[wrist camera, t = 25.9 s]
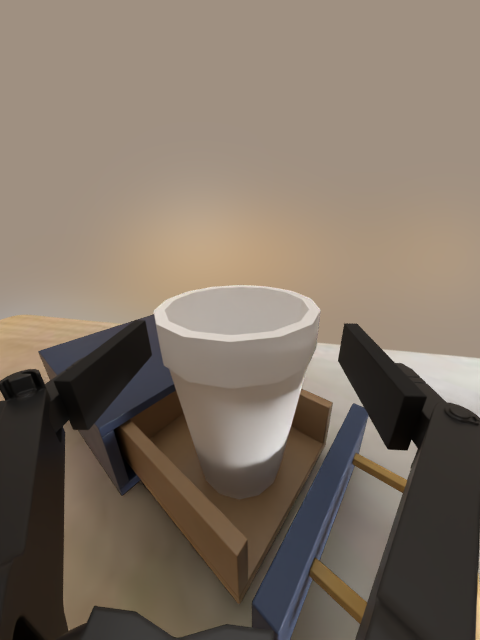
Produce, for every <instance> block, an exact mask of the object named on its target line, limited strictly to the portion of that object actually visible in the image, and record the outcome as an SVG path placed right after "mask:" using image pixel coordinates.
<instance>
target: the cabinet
mask: <svg viewBox="0 0 480 640" xmlns="http://www.w3.org/2000/svg"><path fill="white" fill-rule="evenodd" d="M138 320H145V321H146V326H147V331H148V336H149V341H150V346H151V352H152V356H151V357H150V358H149V360H148V361H147V362H146V363H145V364H144V365H143V367H142V368H141V369H140V370H139V371H138V373H137V374H136V375H135V376H134V377H133V378H132V380H131V381H130V382H129V383H128V384H127V386H126V387H125V388H124V389H123V390H122V391H121V393H120V394H119V395H118V396H117V397H116V399H115V400H114V401H113V402H112V403H111V404H110V406H109V407H108V408H107V409H106V410H105V412H104V413H103V414H102V415H101V416H100V417H99V419H98V420H97V421H96V422H95V423H94V424H93V426H92V427H91V428H90V429H89V430H78V431H79V433H80V434H81V436H82V437H83V439H84V440H85V442H86V443H87V445H88V446H89V448H90V449H91V450H92V452H93V453H94V455H95V456H96V458H97V459H98V461H99V462H100V464H101V465H102V467H103V468H104V470H105V471H106V473H107V474H108V476H109V477H110V479H111V480H112V482H113V483H114V485H115V486H116V488H117V489H118V491H119V492H120V494H121V495H123V494H125V493H126V492H127V491H128V490H129V489H130V488H132V487H133V486H134V485H135V484H136V483H138V482H139V481H140V478H139V477H138V476H137V475H136V473H135V472H134V471H133V469H132V468H131V467H130V466H129V464H128V463H127V462H126V461H125V459H124V458H123V456H122V453H121V450H120V446H119V443H118V440H117V437H116V434H115V430H114V429H115V428H117V427H118V426H120V425H122V424H123V423H125V422H126V421H128V420H130V419H131V418H133V417H134V416H136V415H138V414H139V413H141V412H142V411H144V410H145V409H147V408H149V407H150V406H152V405H153V404H155V403H157V402H158V401H160V400H161V399H163V398H165V397H166V396H168V395H169V394H171V393H173V392H174V391H176V388H175V385H174V382H173V379H172V376H171V373H170V370H169V368H167V367H165V366H164V364H163V359H162V355H161V350H160V345H159V339H158V334H157V328H156V322H155V316H154V314H153V315H150V316H147V317H144V318H141V319H138ZM132 322H133V321H131V322H129V323H125V324H122V325H119V326H116V327H113V328H110V329H106V330H103V331H100V332H97V333H94V334H91V335H88V336H84V337H81V338H78V339H75V340H72V341H69V342H66V343H63V344H59V345H56V346H53V347H50V348H47V349H44V350H41V351H38V352H39V355H40V357H41V359H42V362H43V364H44V367H45V369H46V372H47V374H48V376H49V379H50V380H52V379H53V378H54V377H56V376H57V375H58V374H60V373H61V372H62V371H65V369H67V368H68V367H69V366H71V365H72V364H73V363H75V362H76V361H77V360H79V359H81V358H83V357H85V356H87V355H89V354H90V353H91V352H93V351H94V350H95V349H97V348H98V347H99V346H101V345H102V344H103V343H105V342H106V341H107V340H109V339H110V338H111V337H113V336H114V335H116V334H117V333H118V332H120V331H121V330H122V329H124V328H125V327H126V326H128V325H129V324H130V323H132Z"/></svg>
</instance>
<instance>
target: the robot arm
mask: <svg viewBox="0 0 480 640" xmlns="http://www.w3.org/2000/svg"><path fill="white" fill-rule="evenodd" d="M151 356H152V352H151V346H150V341H149V336H148V331H147V326H146V321H145V320H135V321H133V322H132V323H130V324H129V325H128V326H126V327H125V328H124V329H122V330H121V331H120V332H118V333H117V334H116V335H114V336H113V337H111V338H110V339H109V340H107V341H106V342H105V343H103V344H102V345H101V346H99V347H98V348H97V349H95V350H94V351H93V352H91V353H90V354H89V355H87V356H85V357H83V358H81V359H79V360H77V361H76V362H75V363H73V364H72V365H71V366H69V367H68V368H67V369H65V371H62V372H61V373H60V374H58V375H57V376H56V377H54V378H53V379H52V380H50V381H49V382H47V383H46V384H44V381H43V379H42V377H41V374H40V372H39V370H36V369H29V370H24V371H20V372H17V373H14V374H12V375H10V376H7V377H6V378H4V379H3V380H1V381H0V391H1V393H2V394H3V396H4V398H5V401H0V640H273V630H265V629H258V628H251V627H244V626H236V625H229V624H226V625H222V626H219V627H215V628H212V629H208V630H205V631H201V632H198V633H194V634H191V635H187V636H184V637H180V638H176V637H173V636H171V635H170V634H168V633H167V632H165V631H164V630H162V629H161V628H159V627H158V626H156V625H155V624H153V623H152V622H150V621H149V620H147V619H146V618H144V617H143V616H141V615H140V614H138V613H137V612H135V611H127V610H120V609H113V608H105V607H98V606H94V608H93V610H92V612H91V615H90V617H89V619H88V621H87V623H85V624H83V625H80V626H78V627H76V628H74V629H72V630H70V631H68V627H67V622H66V618H65V614H64V608H63V558H64V479H65V431H64V428H63V425H64V424H65V423H66V422H67V421H68V420H69V421H70V423H71V425H72V428H73V429H74V430H89V429H90V428H91V427H92V426H93V424H94V423H95V422H96V421H97V420H98V419H99V417H100V416H101V415H102V414H103V413H104V412H105V410H106V409H107V408H108V407H109V406H110V404H111V403H112V402H113V401H114V400H115V399H116V397H117V396H118V395H119V394H120V393H121V391H122V390H123V389H124V388H125V387H126V386H127V384H128V383H129V382H130V381H131V380H132V378H133V377H134V376H135V375H136V374H137V373H138V371H139V370H140V369H141V368H142V367H143V365H144V364H145V363H146V362H147V361H148V360H149V358H150V357H151ZM338 362H339V363H340V365H341V367H342V369H343V370H344V372H345V374H346V376H347V378H348V379H349V381H350V383H351V385H352V387H353V388H354V390H355V392H356V394H357V395H358V397H359V399H360V401H361V403H362V404H363V406H364V408H365V410H366V412H367V413H368V415H369V417H370V419H371V420H372V422H373V424H374V426H375V428H376V429H377V431H378V433H379V435H380V437H381V438H382V440H383V442H384V444H385V445H386V447H387V449H391V450H407V451H408V448H409V445H410V442H411V440H412V441H413V442H414V444H415V445H416V446H417V448H418V450H417V452H416V455H415V458H414V460H413V463H412V465H411V470H410V473H409V477H408V480H407V483H406V486H405V489H404V492H403V495H402V498H401V501H400V504H399V507H398V510H397V513H396V516H395V519H394V522H393V526H392V529H391V532H390V535H389V538H388V541H387V544H386V547H385V550H384V553H383V556H382V559H381V562H380V565H379V568H378V572H377V575H376V578H375V581H374V584H373V587H372V590H371V593H370V596H369V599H368V602H367V605H366V608H365V611H364V614H363V617H362V621H361V624H360V627H359V630H358V633H357V636H356V639H355V640H475V639H476V614H477V589H478V564H479V539H480V418H479V417H478V416H477V415H476V414H474V413H473V412H471V411H470V410H468V409H466V408H464V407H462V406H459V405H456V404H452V403H447V402H446V401H445V400H444V399H442V398H441V397H440V396H439V395H438V394H437V393H436V392H435V391H434V390H433V389H432V388H431V387H430V386H429V385H428V384H426V382H425V381H424V380H423V379H422V378H420V376H419V375H417V374H416V373H415V372H414V371H413V370H412V369H410V368H409V367H407V366H405V365H404V364H402V363H394V362H393V361H392V360H391V358H390V357H389V356H388V355H387V354H386V353H385V352H384V351H383V350H382V349H381V348H380V347H379V346H378V345H377V344H376V343H375V342H374V341H373V340H372V339H371V338H370V337H369V336H368V335H367V334H366V333H365V332H364V331H363V329H362V328H361V327H360V326H359V325H358V324H344V329H343V335H342V341H341V346H340V352H339V358H338Z"/></svg>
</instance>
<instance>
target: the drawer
mask: <svg viewBox="0 0 480 640" xmlns="http://www.w3.org/2000/svg"><path fill="white" fill-rule="evenodd" d="M332 404H333V403H332V402H330V401H328V400H326V399H323V398H321V397H319V396H317V395H314V394H312V393H310V392H307V391H305V390H303V389H301V392H300V395H299V399H298V403H297V406H296V410H295V414H294V417H293V421H292V425H291V428H290V432H289V436H288V439H287V443H286V447H285V450H284V454H283V458H282V461H281V464H280V467H279V470H278V472H277V475H276V478H275V480H274V483H272V484H271V485H270V486H269V487H268V488H267V489H265V490H264V491H263V492H262V493H261V494H260V495H257V496H253V497H248V498H243V499H236V498H232V497H229V496H225V495H222V494H219V493H218V492H217V491H216V490H215V489H214V488H213V487H212V486H211V485H210V484H209V483H208V482H207V481H206V478H205V476H204V473H203V470H202V467H201V464H200V461H199V458H198V455H197V452H196V449H195V446H194V443H193V440H192V437H191V434H190V431H189V428H188V425H187V422H186V419H185V416H184V413H183V410H182V407H181V404H180V401H179V397H178V394H177V391H174V392H173V393H171V394H169V395H168V396H166V397H165V398H163V399H161V400H160V401H158V402H157V403H155V404H153V405H152V406H150V407H149V408H147V409H145V410H144V411H142V412H141V413H139V414H138V415H136V416H134V417H133V418H131V419H130V420H128V421H126V422H125V423H123V424H122V425H120V426H118V427H117V428H115V429H114V430H115V434H116V437H117V440H118V443H119V446H120V450H121V453H122V456H123V458H124V459H125V461H126V462H127V463H128V464H129V466H130V467H131V468H132V469H133V471H134V472H135V473H136V475H137V476H138V477H139V478H140V480H141V481H142V482H143V483H144V485H145V486H146V487H147V489H148V490H149V491H150V492H151V494H152V495H153V496H154V497H155V499H156V500H157V501H158V502H159V504H160V505H161V506H162V508H163V509H164V510H165V511H166V513H167V514H168V515H169V516H170V518H171V519H172V520H173V522H174V523H175V524H176V525H177V527H178V528H179V529H180V530H181V532H182V533H183V534H184V535H185V537H186V538H187V539H188V541H189V542H190V543H191V544H192V546H193V547H194V548H195V549H196V551H197V552H198V553H199V555H200V556H201V557H202V558H203V560H204V561H205V562H206V563H207V565H208V566H209V567H210V568H211V570H212V571H213V572H214V574H215V575H216V576H217V577H218V579H219V580H220V581H221V582H222V584H223V585H224V586H225V588H226V589H227V590H228V591H229V593H230V594H231V595H232V596H233V598H234V599H235V600H236V601H237V603H238V604H240V603H241V601H242V599H243V597H244V595H245V594H246V592H247V590H248V588H249V586H250V584H251V582H252V581H253V579H254V577H255V575H256V573H257V571H258V569H259V568H260V566H261V564H262V562H263V560H264V558H265V556H266V555H267V553H268V551H269V549H270V547H271V545H272V543H273V542H274V540H275V538H276V536H277V534H278V532H279V530H280V529H281V527H282V525H283V523H284V521H285V519H286V517H287V516H288V514H289V512H290V510H291V508H292V506H293V504H294V502H295V501H296V499H297V497H298V495H299V493H300V491H301V489H302V488H303V486H304V484H305V482H306V480H307V478H308V476H309V475H310V473H311V471H312V469H313V467H314V465H315V463H316V462H317V460H318V458H319V456H320V454H321V452H322V450H323V449H324V447H325V445H326V439H327V433H328V428H329V422H330V416H331V410H332ZM367 419H368V413H367V412H366V410H365V408H364V407H361V406H359V405H357V404H354V403H353V404H352V406H351V408H350V410H349V412H348V414H347V416H346V418H345V420H344V422H343V424H342V426H341V428H340V430H339V432H338V434H337V436H336V438H335V440H334V442H333V444H332V446H331V448H330V450H329V452H328V454H327V456H326V458H325V459H324V461H323V463H322V465H321V467H320V469H319V471H318V473H317V475H316V477H315V479H314V481H313V483H312V485H311V487H310V489H309V491H308V493H307V495H306V497H305V499H304V501H303V503H302V505H301V507H300V509H299V511H298V513H297V515H296V516H295V518H294V520H293V522H292V524H291V526H290V528H289V530H288V532H287V534H286V536H285V538H284V540H283V542H282V544H281V546H280V548H279V550H278V552H277V554H276V556H275V558H274V560H273V562H272V564H271V566H270V568H269V570H268V571H267V573H266V575H265V577H264V579H263V581H262V583H261V585H260V587H259V589H258V591H257V593H256V595H255V597H254V599H253V601H252V628H258V629H265V630H273V640H290V638H291V635H292V633H293V630H294V627H295V625H296V622H297V619H298V617H299V614H300V611H301V609H302V606H303V603H304V601H305V598H306V595H307V592H308V590H309V587H310V584H311V582H312V579H313V580H314V581H315V582H316V583H317V584H318V585H319V586H320V587H321V588H322V589H324V590H325V591H326V592H327V593H328V594H329V595H330V596H331V597H332V598H333V599H334V600H335V601H336V602H337V603H338V604H339V605H340V606H341V607H343V608H344V609H345V610H346V611H347V612H348V613H349V614H350V615H351V616H352V617H353V618H354V619H355V620H356V621H357V622H358V623H359V624H361V621H362V617H363V614H364V611H365V608H366V605H367V602H366V601H365V600H363V599H362V598H361V597H360V596H359V595H358V594H357V593H355V592H354V591H353V590H352V589H351V588H350V587H349V586H348V585H346V584H345V583H344V582H343V581H342V580H341V579H340V578H338V577H337V576H336V575H335V574H334V573H333V572H332V571H330V570H329V569H328V568H327V567H326V566H325V565H324V564H322V563H321V562H320V561H319V560H320V558H321V555H322V552H323V550H324V547H325V544H326V541H327V539H328V536H329V533H330V531H331V528H332V525H333V523H334V520H335V517H336V515H337V512H338V509H339V507H340V504H341V501H342V498H343V496H344V493H345V490H346V488H347V485H348V482H349V480H350V477H351V474H352V472H353V469H354V466H356V467H358V468H360V469H362V470H363V471H365V472H367V473H369V474H370V475H372V476H374V477H376V478H377V479H379V480H381V481H383V482H384V483H386V484H388V485H390V486H391V487H393V488H395V489H397V490H398V491H400V492H402V493H403V492H404V489H405V486H406V483H407V480H406V479H404V478H402V477H400V476H398V475H396V474H395V473H393V472H391V471H389V470H387V469H385V468H383V467H382V466H380V465H378V464H376V463H374V462H372V461H370V460H369V459H367V458H365V457H363V456H361V455H359V450H360V447H361V443H362V439H363V435H364V431H365V427H366V423H367ZM475 640H480V585H479V575H478V589H477V614H476V639H475Z"/></svg>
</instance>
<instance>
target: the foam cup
mask: <svg viewBox="0 0 480 640" xmlns="http://www.w3.org/2000/svg"><path fill="white" fill-rule="evenodd" d="M320 312H321V310H320V309H319V307H318V306H317V305H316V304H315V303H314V302H313V300H312V299H311V298H308V297H306V296H303V295H301V294H298V293H296V292H293V291H290V290H284V289H278V288H273V287H267V286H248V285H234V286H219V287H210V288H204V289H199V290H194V291H188V292H186V293H182V294H180V295H177V296H174V297H172V298H169V299H166V300H165V301H164V302H163V303H162V304H161V305H159V306H158V307H157V308H156V309H155V310H154V316H155V322H156V328H157V334H158V339H159V345H160V350H161V355H162V359H163V364H164V366H165V367H167V368H169V370H170V373H171V376H172V379H173V382H174V385H175V388H176V391H177V394H178V397H179V401H180V404H181V407H182V410H183V413H184V416H185V419H186V422H187V425H188V428H189V431H190V434H191V437H192V440H193V443H194V446H195V449H196V452H197V455H198V458H199V461H200V464H201V467H202V470H203V473H204V476H205V478H206V481H207V482H208V483H209V484H210V485H211V486H212V487H213V488H214V489H215V490H216V491H217V492H218V493H219V494H222V495H225V496H229V497H232V498H236V499H243V498H248V497H253V496H257V495H260V494H261V493H262V492H263V491H264V490H265V489H267V488H268V487H269V486H270V485H271V484H272V483H274V480H275V478H276V475H277V472H278V470H279V467H280V464H281V461H282V458H283V454H284V450H285V447H286V443H287V439H288V436H289V432H290V428H291V425H292V421H293V417H294V414H295V410H296V406H297V403H298V399H299V395H300V392H301V388H302V384H303V381H304V377H305V373H306V370H307V367H308V365H309V362H310V360H311V358H312V356H313V354H314V351H315V349H316V344H317V336H318V328H319V320H320Z"/></svg>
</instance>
